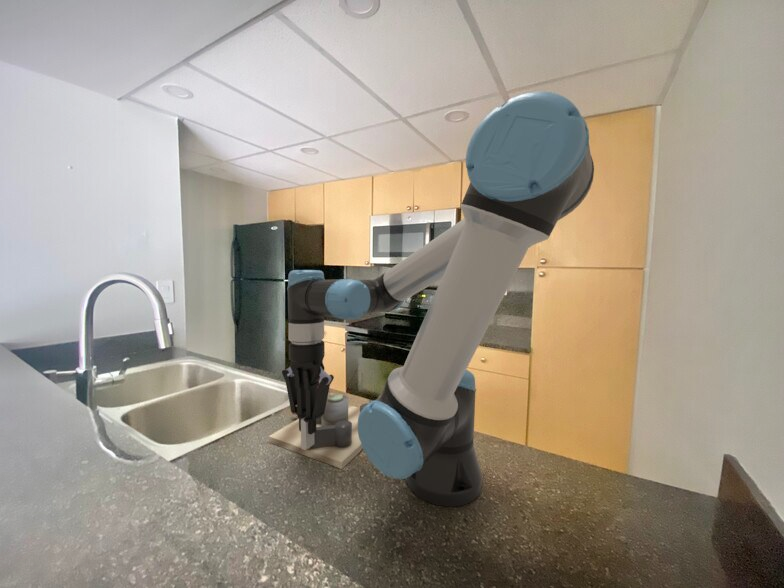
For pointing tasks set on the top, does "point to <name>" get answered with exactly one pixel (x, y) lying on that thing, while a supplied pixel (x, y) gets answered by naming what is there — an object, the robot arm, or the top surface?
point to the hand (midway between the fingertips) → (307, 446)
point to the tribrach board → (324, 451)
